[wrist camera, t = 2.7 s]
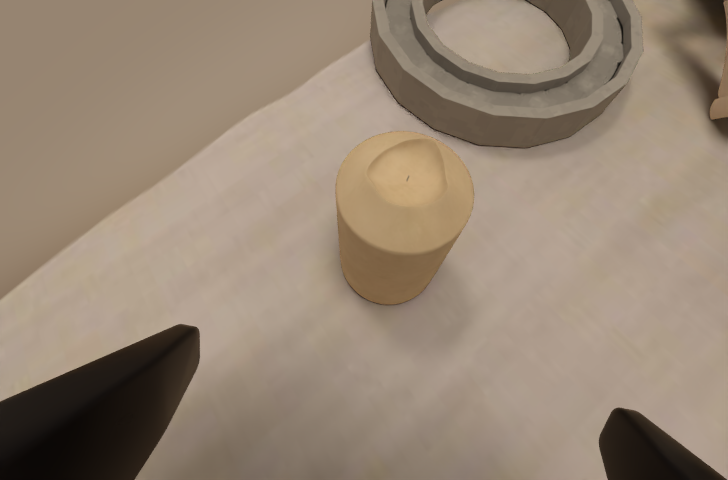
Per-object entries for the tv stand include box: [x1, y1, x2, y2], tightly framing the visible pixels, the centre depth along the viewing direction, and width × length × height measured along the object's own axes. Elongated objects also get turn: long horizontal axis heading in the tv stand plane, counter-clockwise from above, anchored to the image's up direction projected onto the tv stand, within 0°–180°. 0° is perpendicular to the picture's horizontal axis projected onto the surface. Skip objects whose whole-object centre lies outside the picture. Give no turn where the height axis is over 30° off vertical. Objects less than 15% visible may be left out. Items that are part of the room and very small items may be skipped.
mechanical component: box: [370, 0, 643, 148], centre depth 30 cm, size 18×18×3 cm
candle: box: [336, 131, 474, 305], centre depth 20 cm, size 6×6×10 cm
